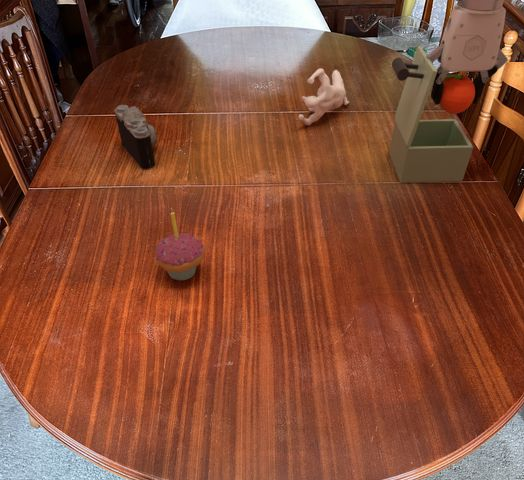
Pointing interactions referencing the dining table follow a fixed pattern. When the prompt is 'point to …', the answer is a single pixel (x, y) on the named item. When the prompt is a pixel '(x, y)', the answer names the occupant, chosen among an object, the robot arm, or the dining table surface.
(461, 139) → the green hollow rectangular box
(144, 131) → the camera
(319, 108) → the pale pink plastic figure
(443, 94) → the clementine
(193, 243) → the cupcake
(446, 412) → the dining table surface
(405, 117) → the lid
